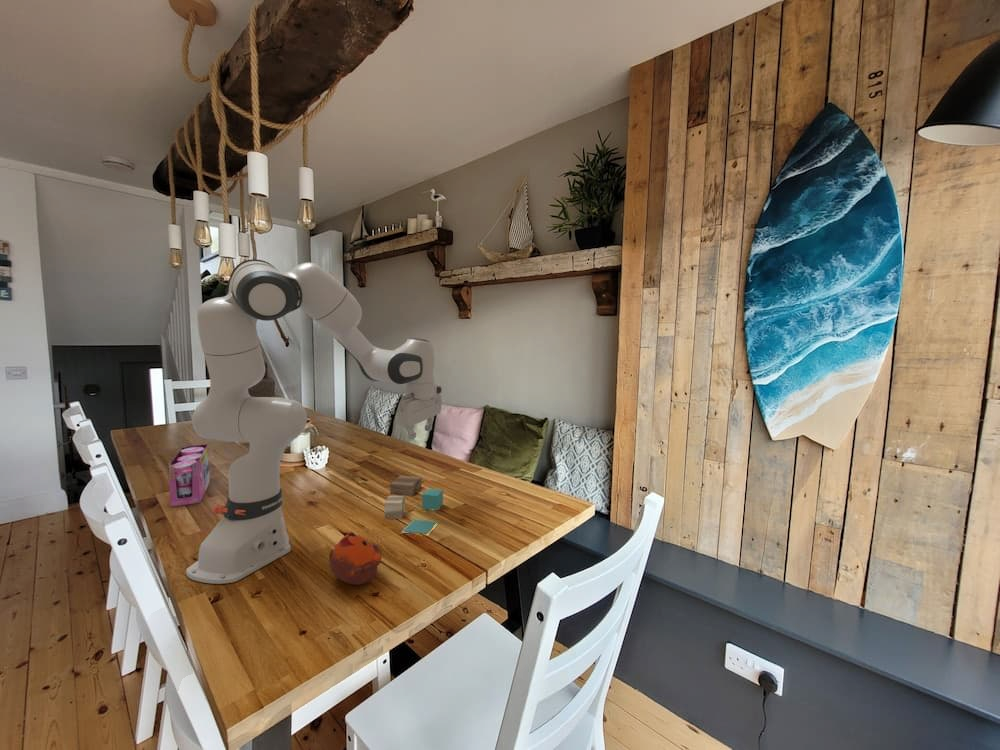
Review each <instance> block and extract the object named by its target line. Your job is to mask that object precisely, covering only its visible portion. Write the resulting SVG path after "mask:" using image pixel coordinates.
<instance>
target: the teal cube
mask: <svg viewBox="0 0 1000 750" xmlns="http://www.w3.org/2000/svg"><path fill="white" fill-rule="evenodd" d="M421 497H422V498H421V499H422V501H421V504H422V505H421V507H422V508H423V509H434V510H438V508H439V507H440V506H441V505H442V504H443V505H444V490H443V489H437V488H436V489H435V488H427V489H426V490H425V491H424V492H423V493H422V494H421ZM443 505H442V506H443ZM442 506H441V507H442ZM422 508H421V509H422ZM438 511H439V510H438Z"/></svg>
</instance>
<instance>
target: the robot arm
mask: <svg viewBox="0 0 1000 750" xmlns="http://www.w3.org/2000/svg"><path fill="white" fill-rule="evenodd" d="M224 293H225V296H220V297H219V296H218V297H213V298H211V299H207V300H206V301H205V302H203V303H202V304H200V305H199V307H198V309H197V314H196V315H197V319H196V320H197V330H198V336H199V341H200V345H201V349H202V353H203V355H204V359H205V360H204V361H205V363H206V367H207V371H208V375H209V383H210V385H209V390H208V394H207V396H206V397H205V399H204V400H203V399H202V401H201V402H200V403H199V404H198V405H197V406H196V407H195V409H194V411H193V413H192V416H191V425H192V428H193V430H194V432H195V433H196V434H197V436H199V437H200V438H203V439H207V440H211V441H212V440H213V441H218V442H248V443H249V449H248V453H246V454H243V455H241V456H239V457H238V458H236V459H235V460H234V461H233V462H232V463H231V464H230V466H229V467H228V470H227V481H228V482H227V483H228V498H227V500H226V503H225V505H220V504H217V505H215V506H214V507H213V510H212V511H213V513H214V514H215V515H221V516H222V515H223V517H222V518H221V519H220V521H219V522H217V524H216V525H215V527H214V528H213V529H212V530H211V531H210V533H208V535H207V536H206V537H205V539H204V540H203V541H202V543H201V544H200V546H199V549H198V559H197V560H196V561H195V562H194V563H193V564H191V565H189V567H187V568H186V570H185V573H186V577H187V578H189V579H190V580H192V581H195V582H199V583H204V584H205V583H206V584H212V585H213V584H216V585H217V584H218V585H221V584H229V583H235V582H237V581H240V580H242V579H243V578H246V577H247V576H249V575H250V574H252V573H254V572H256V571H258V570H260V569H261V568H263V567H265V566H267V565H269V564H270V563H272V562H274V561H276V560H277V559H279V558H281V557H283V556H284V555H286V554H288V553H290V552H291V551H292V547H291V543H290V537H289V535H288V532H287V528H286V521H285V517H284V514H283V511H282V505H283V503H284V502H283V496H284V495H283V491H282V489H281V488H280V484H281V482H280V481H281V480H280V479H281V478H280V475H281V474H280V473H281V472H280V470H281V469H280V468H281V467H280V466H281V460H282V458H283V454H284V452H285V450H286V449H287V447H288V446H289V445H290V444H291V443H292V442H293V441H295V440H296V439H298V437H299V436H300V435H301V434H302V433H303V432H304V430H305V428H306V425H307V420H308V419H307V418H308V417H307V415H308V414H307V411H306V409H305V407H304V406H303V404H302V403H301V402H300V401H298V400H294V399H290V398H284V397H280V396H279V397H278V396H274V397H273V396H272V397H271V396H270V397H269V396H252V395H251V394H250V393H249V389H251V388H252V387H254V386H256V385H257V384H259V383H260V382H261V381H262V380H263V378H264V376H265V374H266V364H265V361H264V357H263V356H264V355H263V352H262V347H261V343H260V340H259V335H258V331H257V323H258V320H260V321H274V320H278V319H281V318H283V317H284V316H286V315H287V314H289V313H292V312H294V311H295V310H296V311H297V309H302V311H304V312H305V313H306V314H307V315H308V316H309V317H310V318H312V319H313V321H314V322H316V323H317V324H318V325H320V326H321V328H323V329H324V330H325V331H327V332H328V333H329V334H330V335H331V336H332V337H333V338H334V339H335V340H336V341H337V342H338V344H339V345H341V346H342V347H343V348H344V349H345V351H346V352H348V354H349V355H350V356H352V358H354V359H355V361H356V363H357V365H358V367H359V369H360V371H361V373H362V375H363V376H364V378H366V379H368V380H369V381H372V382H382V383H387V384H392V385H393V384H394V385H404V387H405V395H403V396H402V398H401V400H399V402H398V406H397V413H396V414H397V415H396V416H397V417H396V424H397V426H398V427H400V428H405V430H406V432H407V437H408V439H409V440H414V439H416V437H417V432H416V431H414V429H415V425H417V424H420V423H422V422H424V421H426V424H424V430H425V432H429V431H432V430H433V423H434V420H435V417H436V416H437V415H440V413H441V411H442V392H443V387H442V386H441V385H438V384H435V376H434V370H435V354H434V353H435V350H434V346H433V344H432V342H431V341H430V340H428V339H423V338H416V337H410V338H407V339H406V342H404V343H403V344H402V345H401V346H399V347H398V348H395V349H393V350H391V349H384V348H380V347H376V346H375V345H373V344H372V343H371V342H370V341H369V340H368V339H367V338H366V336H364V334H363V333H362V332H361V331H360V330H359V329H358V327H357V326H359V324H360V322H361V320H362V317H363V312H362V311H363V310H362V307H361V304H360V303H359V302H358V300H357V299H356V297H355V296H354V295H353V294H352V292H350V291H349V290H348V289H347V288H346V287H345V286H344V285H343V284H342V283H341V282H340V281H339V279H337V278H336V277H334V276H333V275H332V274H331V273H330V272H329V271H327V270H326V269H324V268H323V267H322V266H320V265H319V264H317V263H314V262H302V263H300V264H298V265H296V266H294V268H292V269H291V270H289V271H280V270H279V269H278V268H276V267H275V266H274V265H273V264H271V263H270V262H268V261H266V260H262V259H257V258H255V259H251V258H250V259H247V260H244V261H242V262H240V263H238V264H237V265H236V266H235V267H234V268H233V270H232V272H231V274H230V277H229V279H228V282H227V284H226V287H225V290H224Z"/></svg>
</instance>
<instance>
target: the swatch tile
mask: <svg viewBox="0 0 1000 750" xmlns="http://www.w3.org/2000/svg"><path fill="white" fill-rule="evenodd" d="M413 519H414V520H412V521H410V523H408V525H407V526H406V527H404V529H403V530H402V531H401V534H402V533H409V532H411V533H422V534H423V533H424V534H427V533H428V532H429V531H430V530H431V529H432V528H433V526H434V525H435V524H436V523H437V522H438V521H432V520H431V521H430V520H422V519H415V518H413Z"/></svg>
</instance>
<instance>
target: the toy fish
mask: <svg viewBox="0 0 1000 750" xmlns="http://www.w3.org/2000/svg"><path fill="white" fill-rule="evenodd" d="M328 558H329V560H328V561H329V566H330V569H331V570H330V571H332V573H333V574H334V575H335V577H337V579H339V580H340V581H342V582H344V583H346V584H351V585H355V586H356V585H357V586H361V585H365V584H366V583H369V582H371V581H372V580H374V579H375V577H376V576H377V573H378V566H379V565H380V564H381V560H382V559H383V555H382V553H381V550H380V548H379V546H378V545H377V544H374V543H373V544H372V542H370V541H369V540H368V539H367V538H365V537H363V536H361V535H359V534H355V533H354V532H349V533H347V534H346V535H344V536H343V537H342V538H341V539H340V540H338V543H336V545H335V547H334V549H331V550H330V552H329V556H328Z"/></svg>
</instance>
